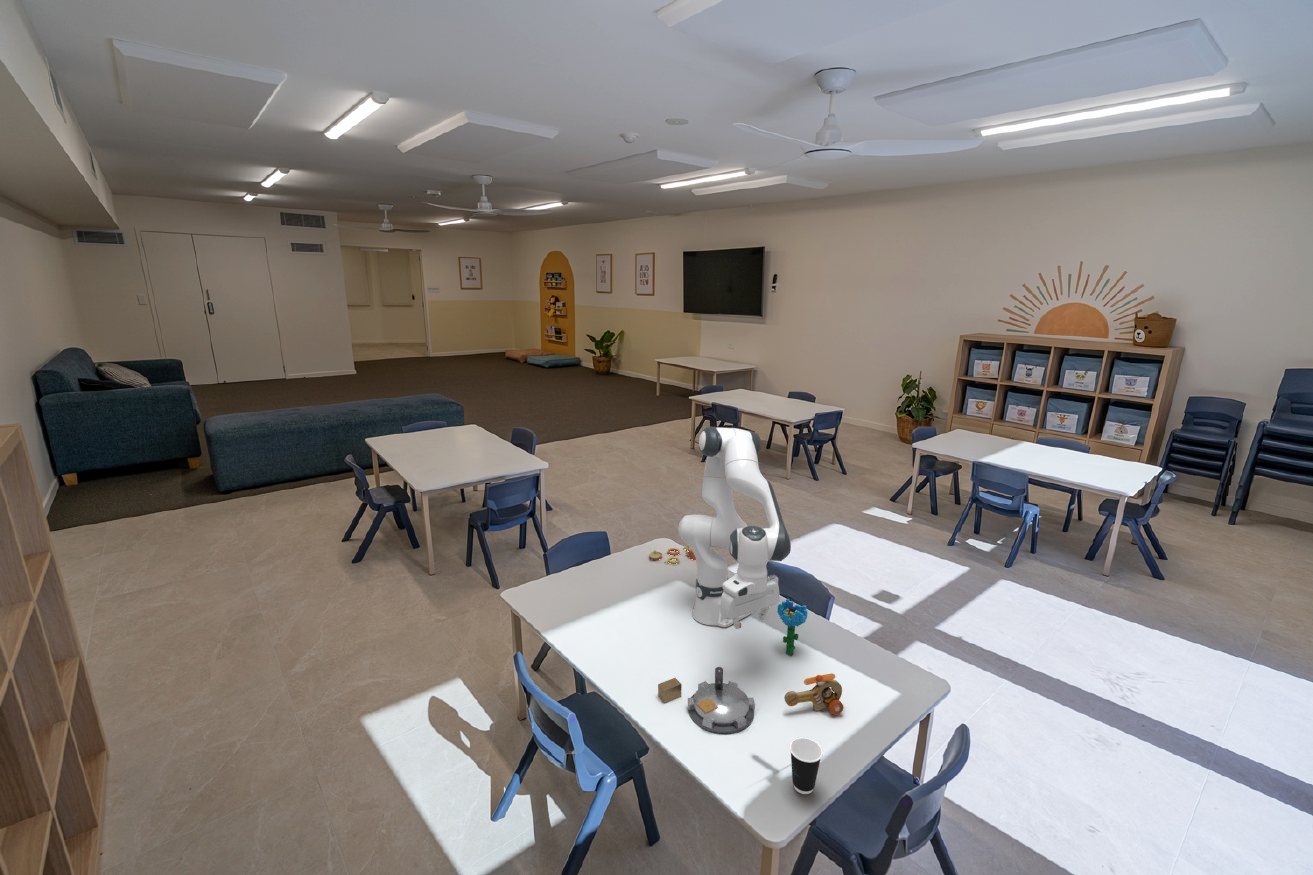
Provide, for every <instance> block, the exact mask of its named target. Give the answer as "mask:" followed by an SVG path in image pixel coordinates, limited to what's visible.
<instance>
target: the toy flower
mask: <svg viewBox="0 0 1313 875" xmlns="http://www.w3.org/2000/svg"><path fill="white" fill-rule="evenodd" d="M808 612H809V611H808V610H807V605H805V604H804V605H800V604H795V605H794V601H792V600H791V601H790V599H789V598H786V599H785V601H781V603H779V604H777V615H779V616H778V617H779V619H780V620H781V621H782V623H783V624H784V626H787V630H786V636H785V635H783V637H782V642H783V643H784V644H786V646H785V647H786V648H785V654H786V655H787V656H790V657H792V655H794V650H795V649H796V646H795V641H798V640H799V634H798V633H795V632H796V627H799V626H801V625H803V624H804V623H806V620H807V619H808Z"/></svg>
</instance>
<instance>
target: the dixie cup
mask: <svg viewBox="0 0 1313 875" xmlns="http://www.w3.org/2000/svg"><path fill="white" fill-rule="evenodd" d="M789 751H790V762H791V778H792V785H793V788H794V789H795V791H796V792H798V793H800V794H803V795H809V794H811V793H813V791H814V789H815V786H816V781H817V776H818V772H819V768H820V764H821V759H822V757H823V755H824V754H823V752H824V751H823V749H822V746H821V745H820V744H819V743H818V742H817V741H815V740H813V739H812V738H808V737H797V738H794V739H793V740H791V741H790V744H789Z"/></svg>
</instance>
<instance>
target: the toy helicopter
mask: <svg viewBox="0 0 1313 875" xmlns="http://www.w3.org/2000/svg"><path fill="white" fill-rule="evenodd" d="M835 678H836V674H835V673H832V672H831V673H826V674H817V675H816V676H813V677H812V676H811V677H808V678H805V679H804V680H803V684H804V685H806V686H809V685H813V684H815V685H814V686H813V687H812V688H811V689H809V690H803V691H798V692H796V691H794V690H789V691H787V692H786V693H785V695H784V702H785V704H787V706H788V707H794V706H797V705H798V704H799V703H808V702H811V703H812V708H813V710H814V711H815V712H819V711H821V710H822V709H828V710H829V712H830V713H831V714H832V715H836V716H837V715H840V714H841V713H842V712H843V710H844V704H843V703H842V702H841V700H840V699H841V697H842V694H843V687H842V685H841V683H840V682H839V681H837V680H836V679H835Z"/></svg>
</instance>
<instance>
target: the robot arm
mask: <svg viewBox="0 0 1313 875" xmlns="http://www.w3.org/2000/svg"><path fill="white" fill-rule="evenodd" d="M761 448H762V439H761V437H760V435H759V433H757V432H755V431H752V430H750V429H749V430H745V429H742V428H735V427H716V426H707V427H704V428H703V429H702V431H701V433H700V435H699V438H698V449H699V452H701V454H702V455H704V456H706V461H705V465H704V470H703V478H702V487H701V488H702V490H701V497H702V500H703V502H705V503H706V504H707V505H709V506H710V507H712V508H713V509H714V510H715V512H716V515H706V514H698V513H697V514H686V515H684V516H682V519H680V521H679V524H678V530H677V531H678V536H679V537H680V540H682V541H683V542H684V543H685V544H686V546H687V545H688V546H689V547H690V548H691V550H692V551H693V553H694V555H695V557H696V571H697V572H696V573H697V574H696V577H697V578H696V580H695V594H696V596H695V600H694V601H695V602H694V606H693V609H692V613H691V616H692V618H693V620H695V621H696V622H698V623H700V624H702V625H707V626H718V627H721V628H727V627H730V626H731V625H733V627H734V629H735V630H738V629H741V628H742V622H741V620H742V619H744V618H746V617H748V616H750V615H751V614H752V613H754V612H756V611H760V612H758V614H757V618H758V619H759V620H760V621H765V620H766V618H767V614H768V612H769V610H770V607H771V606H774V605H778V603H779V601H780V587H779V577H778V576H777V575H776V574H770V575H768V569H767V564H768V562H769V561H773V562H774V561H775V562H782V561H784V560H785V559H786V558H788V556H789V555H790V553H791V551H792V550H791V548H792V547H791V546H792V544H791V539H790V536H789V533H788V531H787V528H786V525H785V523H784V520H783V517H782V513H781V511H780V510H781V508H780V506H779V503H778V500H777V499H778V498H777V497H776V494H775V491H774V488H773V485H772V483H771V482H770V481H769V480H768V479H766V478H765V477H764V476H763V475H762V474H763V473H761V471H760V466H759V460H758V456H759V454H760V453H761ZM734 491H735V492H736V493H738V494H741V495H743V496H746V497H749V498H750V499H754V500H755V501H757V502H759V503H760V504H761V505H762V507H763V509H764V513H765V515H766V520H767V523H768V525H769V527H765V528H764V527H760V526H757V525H747V523H746V522H745V521H744V520H743V519H742V517H740V515H739V514H738V512H737V510H736V507H735V503H734ZM715 548H720V549H727V550H729V555H730V556H731V557H732V558H733V559H734V560H735V561H736V562H737V561H738V565H737V568H736V569H737V570H736V573H734V574H733V575H732V576H731V577H730V578H729V577H728V572H729V569H728V568H729V564H728V560H727V559H726V558H725V556H724V555H723V554H721V553H720V552H718V551H717V550H716V549H715Z"/></svg>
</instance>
